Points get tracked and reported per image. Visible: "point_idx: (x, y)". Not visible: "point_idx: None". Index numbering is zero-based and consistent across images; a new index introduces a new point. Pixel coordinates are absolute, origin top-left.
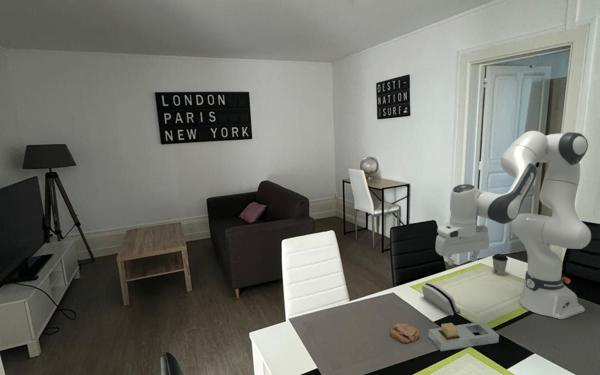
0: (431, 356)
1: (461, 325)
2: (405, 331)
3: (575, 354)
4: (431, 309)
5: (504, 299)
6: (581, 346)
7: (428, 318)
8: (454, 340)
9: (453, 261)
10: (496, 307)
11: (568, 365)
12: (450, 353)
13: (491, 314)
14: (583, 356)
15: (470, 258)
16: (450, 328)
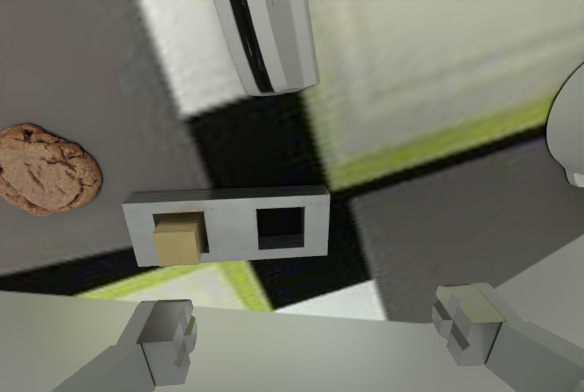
0: (112, 263)
1: (246, 201)
2: (33, 193)
3: None
4: (212, 31)
5: (552, 30)
6: (489, 274)
7: (172, 94)
8: None
9: (176, 376)
10: (470, 80)
11: (402, 313)
12: None
13: (414, 118)
14: None
15: (450, 299)
16: (174, 257)
